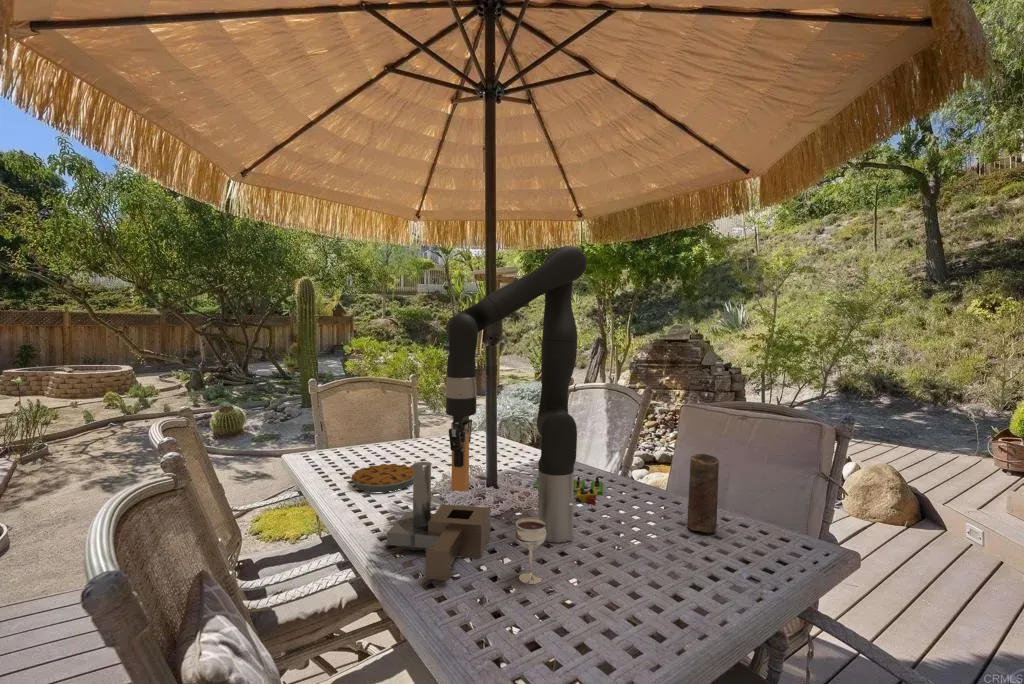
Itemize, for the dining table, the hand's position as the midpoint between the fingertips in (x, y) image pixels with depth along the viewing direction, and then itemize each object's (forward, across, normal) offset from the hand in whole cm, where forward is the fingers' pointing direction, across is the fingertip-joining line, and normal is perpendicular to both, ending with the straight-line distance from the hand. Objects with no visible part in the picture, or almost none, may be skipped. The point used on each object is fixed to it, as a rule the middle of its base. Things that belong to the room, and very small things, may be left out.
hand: (460, 463), depth 118 cm
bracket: (+21, -7, 0) cm, 22 cm away
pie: (+21, +41, +38) cm, 60 cm away
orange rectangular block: (+6, 0, 0) cm, 6 cm away
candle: (+21, +20, -62) cm, 68 cm away
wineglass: (+21, -12, -19) cm, 31 cm away
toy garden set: (+21, +44, -25) cm, 54 cm away
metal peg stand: (+21, 0, +10) cm, 23 cm away
